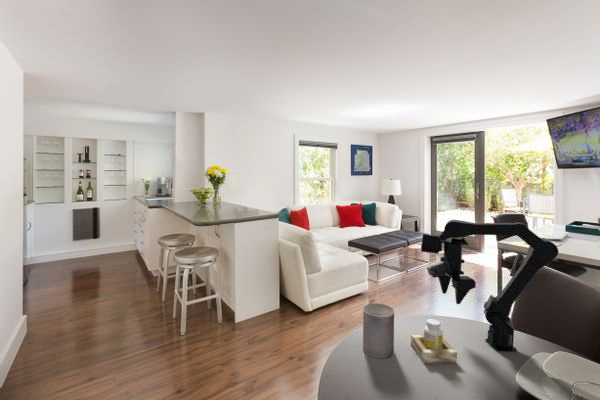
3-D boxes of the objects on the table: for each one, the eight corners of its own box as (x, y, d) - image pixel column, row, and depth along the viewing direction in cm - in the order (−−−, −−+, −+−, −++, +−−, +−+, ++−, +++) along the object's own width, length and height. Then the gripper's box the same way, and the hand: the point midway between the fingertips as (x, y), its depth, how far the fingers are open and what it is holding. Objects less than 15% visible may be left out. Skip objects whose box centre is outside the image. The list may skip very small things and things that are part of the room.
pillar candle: (379, 339, 101) (379, 297, 100) (400, 354, 93) (401, 308, 92) (356, 346, 97) (356, 302, 96) (376, 363, 88) (377, 315, 87)
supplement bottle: (438, 347, 96) (439, 318, 95) (444, 357, 90) (446, 326, 90) (421, 346, 96) (422, 317, 96) (426, 356, 91) (427, 325, 90)
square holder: (440, 344, 98) (440, 334, 98) (456, 363, 88) (457, 352, 88) (410, 344, 98) (410, 334, 98) (423, 363, 88) (424, 352, 88)
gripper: (418, 249, 113) (417, 288, 114) (443, 263, 94) (441, 310, 95) (447, 249, 113) (445, 288, 114) (477, 263, 94) (475, 310, 95)
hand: (450, 298), depth 105 cm, fingers open, 9 cm apart
